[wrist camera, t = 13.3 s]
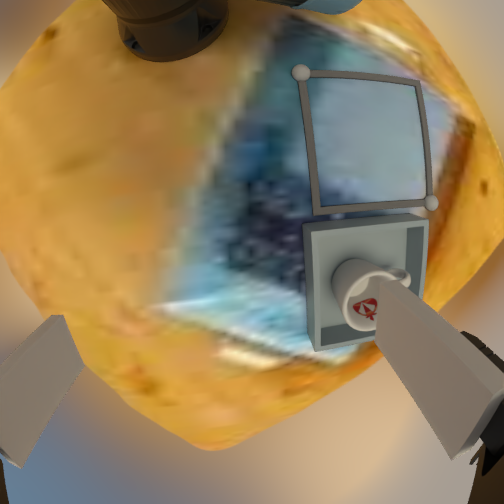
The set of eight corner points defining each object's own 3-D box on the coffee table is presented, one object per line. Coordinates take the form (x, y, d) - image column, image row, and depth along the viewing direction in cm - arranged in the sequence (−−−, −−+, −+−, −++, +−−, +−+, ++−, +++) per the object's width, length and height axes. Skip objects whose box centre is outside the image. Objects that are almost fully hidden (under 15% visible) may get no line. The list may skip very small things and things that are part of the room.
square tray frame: (289, 68, 31) (292, 61, 29) (418, 78, 31) (427, 75, 29) (307, 220, 37) (311, 223, 34) (432, 209, 37) (441, 211, 34)
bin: (301, 223, 36) (311, 231, 31) (409, 213, 36) (428, 219, 31) (307, 332, 41) (314, 351, 36) (402, 313, 41) (417, 328, 36)
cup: (388, 238, 37) (418, 254, 29) (394, 287, 39) (421, 310, 31) (319, 261, 37) (337, 284, 29) (330, 311, 39) (348, 341, 32)
